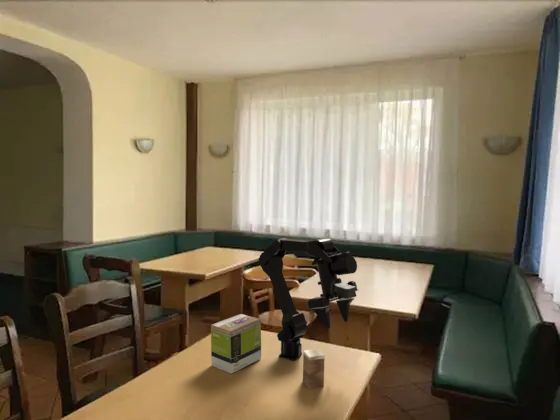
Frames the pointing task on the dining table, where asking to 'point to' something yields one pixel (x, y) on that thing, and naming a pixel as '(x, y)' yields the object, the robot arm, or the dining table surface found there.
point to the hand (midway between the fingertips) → (337, 324)
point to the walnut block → (313, 368)
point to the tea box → (235, 342)
